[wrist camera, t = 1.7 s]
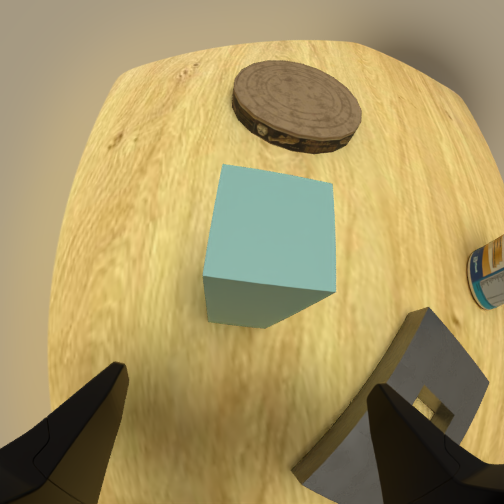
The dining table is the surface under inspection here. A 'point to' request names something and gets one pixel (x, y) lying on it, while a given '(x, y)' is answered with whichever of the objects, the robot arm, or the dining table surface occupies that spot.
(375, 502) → the square-hole plate
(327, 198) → the teal peg
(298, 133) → the wood slice
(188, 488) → the dining table surface
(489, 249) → the beverage bottle
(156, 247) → the dining table surface
